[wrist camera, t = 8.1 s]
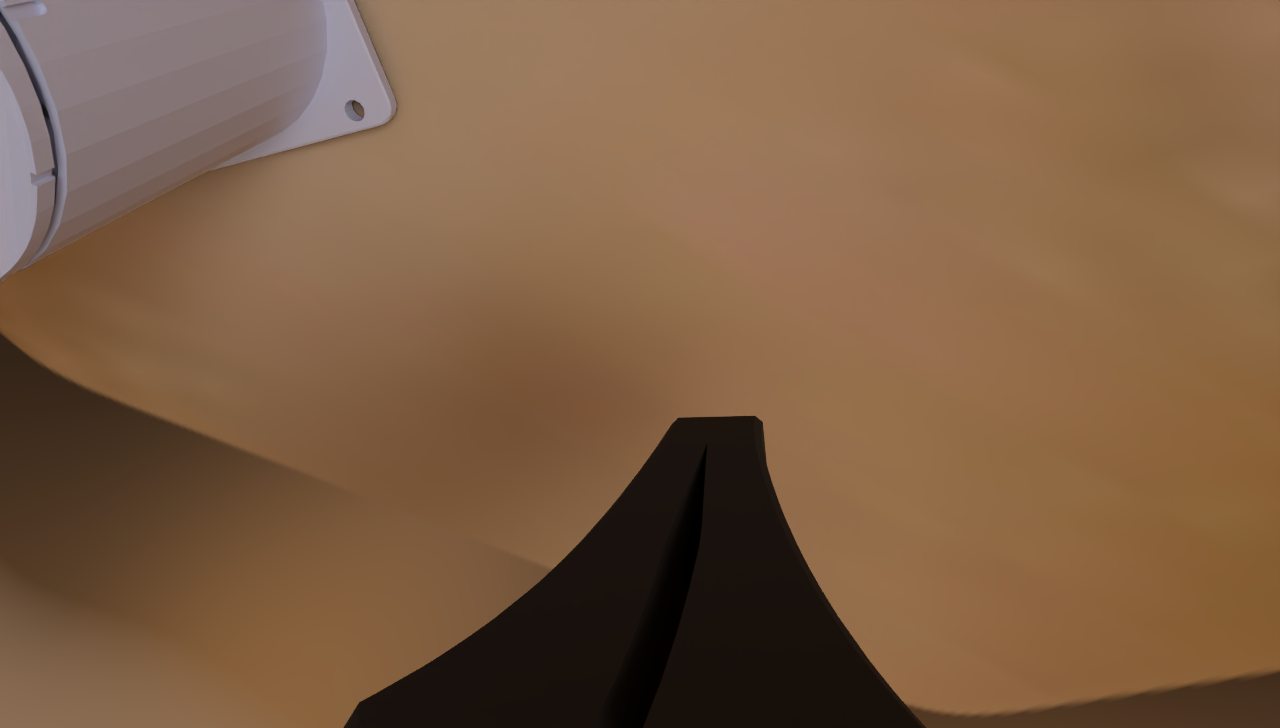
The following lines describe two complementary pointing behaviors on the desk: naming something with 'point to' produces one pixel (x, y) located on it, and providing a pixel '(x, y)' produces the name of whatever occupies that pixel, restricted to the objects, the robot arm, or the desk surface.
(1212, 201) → the desk surface
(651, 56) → the desk surface
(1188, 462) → the desk surface
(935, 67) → the desk surface
